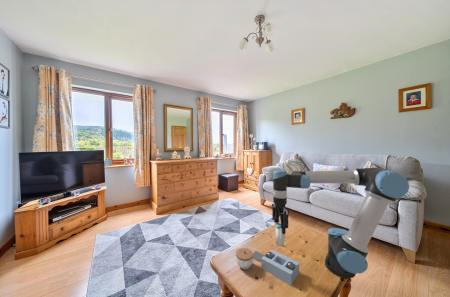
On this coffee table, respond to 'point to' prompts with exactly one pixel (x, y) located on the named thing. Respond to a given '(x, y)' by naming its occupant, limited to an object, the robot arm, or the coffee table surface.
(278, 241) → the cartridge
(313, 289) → the coffee table surface
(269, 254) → the plunger far
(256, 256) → the mat
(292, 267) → the plunger near
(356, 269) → the robot arm
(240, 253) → the lidded jar
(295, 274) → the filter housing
